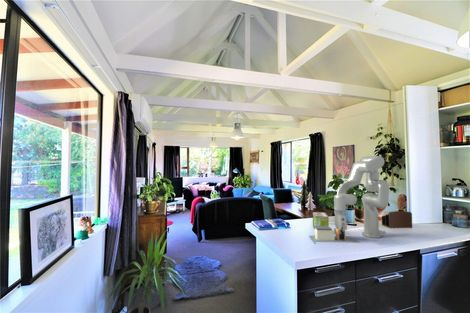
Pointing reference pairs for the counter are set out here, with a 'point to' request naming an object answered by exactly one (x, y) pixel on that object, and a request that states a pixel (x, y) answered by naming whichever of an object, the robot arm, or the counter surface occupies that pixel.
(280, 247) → the counter surface
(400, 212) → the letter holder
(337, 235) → the stub
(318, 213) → the tea box
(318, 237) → the ticket board
